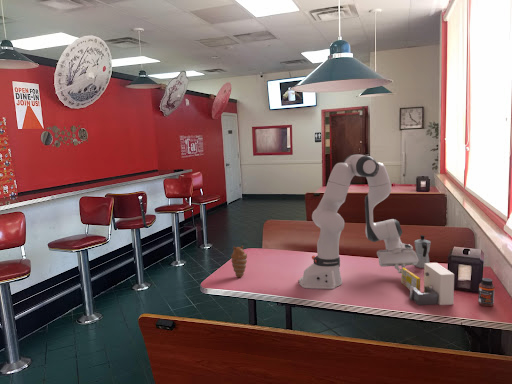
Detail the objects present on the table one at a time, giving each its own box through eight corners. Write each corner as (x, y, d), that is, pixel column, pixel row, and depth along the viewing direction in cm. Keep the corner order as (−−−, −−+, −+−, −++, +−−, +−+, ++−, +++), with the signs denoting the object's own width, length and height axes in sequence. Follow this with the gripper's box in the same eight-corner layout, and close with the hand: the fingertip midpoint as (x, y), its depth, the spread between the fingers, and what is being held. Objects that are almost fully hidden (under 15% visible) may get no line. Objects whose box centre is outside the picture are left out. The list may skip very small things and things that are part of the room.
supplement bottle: (479, 305, 171) (480, 281, 169) (477, 300, 176) (477, 276, 175) (495, 307, 169) (496, 282, 167) (492, 301, 174) (493, 277, 173)
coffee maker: (411, 262, 232) (412, 232, 229) (427, 262, 230) (428, 232, 228) (416, 270, 217) (417, 239, 215) (433, 270, 216) (434, 239, 213)
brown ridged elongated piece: (233, 280, 214) (231, 248, 211) (231, 275, 221) (229, 245, 219) (248, 278, 215) (247, 247, 213) (246, 274, 223) (244, 243, 220)
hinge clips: (415, 305, 174) (416, 292, 173) (408, 297, 182) (408, 285, 181) (439, 304, 174) (440, 291, 173) (430, 296, 182) (431, 284, 182)
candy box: (420, 295, 185) (420, 278, 184) (416, 295, 185) (416, 278, 184) (404, 282, 201) (405, 267, 200) (400, 282, 201) (400, 267, 200)
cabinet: (438, 305, 173) (438, 274, 171) (422, 291, 189) (422, 263, 187) (453, 304, 173) (454, 274, 171) (436, 290, 189) (436, 262, 187)
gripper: (377, 247, 208) (383, 271, 200) (415, 245, 209) (423, 269, 200) (374, 252, 213) (380, 276, 205) (411, 251, 214) (419, 274, 205)
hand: (401, 272), depth 203 cm, fingers closed
